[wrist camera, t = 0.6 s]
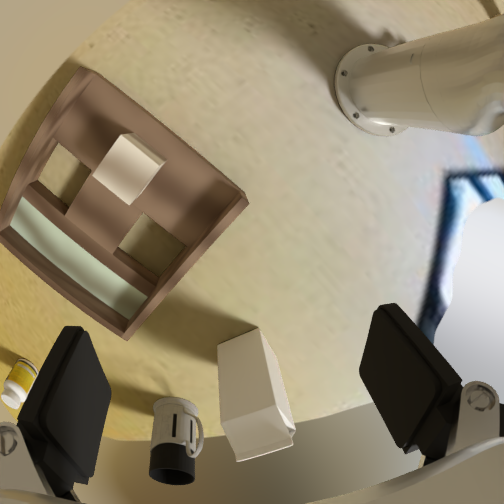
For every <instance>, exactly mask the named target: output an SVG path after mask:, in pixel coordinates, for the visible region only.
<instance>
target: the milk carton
mask: <svg viewBox="0 0 504 504" xmlns="http://www.w3.org/2000/svg"><path fill="white" fill-rule="evenodd" d="M217 355H218V380H219V401H220V419H221V426H222V428H223V430H224V432H225V434H226V436H227V438H228V440H229V442H230V444H231V446H232V448H233V450H234V452H235V454H236V461H237V462H239V461H243V460H247V459H250V458H254V457H258V456H261V455H264V454H268V453H271V452H274V451H277V450H280V449H283V448H287V447H289V446H292V445H293V441H292V436H293V435H294V433H295V431H296V429H295V425H294V422H293V418H292V414H291V410H290V406H289V403H288V399H287V395H286V391H285V387H284V384H283V380H282V376H281V372H280V368H279V364H278V361H277V357H276V355H275V354H274V352H273V350H272V349H271V347H270V345H269V344H268V342H267V340H266V339H265V337H264V335H263V334H262V332H261V330H260V329H259V328H257V329H254V330H252V331H250V332H247V333H245V334H243V335H240V336H238V337H235V338H233V339H231V340H228V341H226V342H223V343H221V344H218V345H217Z"/></svg>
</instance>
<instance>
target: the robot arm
mask: <svg viewBox="0 0 504 504" xmlns="http://www.w3.org/2000/svg"><path fill="white" fill-rule="evenodd" d="M368 49H369V50H368ZM341 72H342V73H343V76H342V74H341ZM335 91H336V96H337V99H338V102H339V105H340V107H341V108H342V110H343V112H344V114H345V115H346V116H347V117H348V119H349V120H350V121H351V122H352V123H353V124H354V125H355V126H357V127H358V128H359V129H361V130H363V131H364V132H367V133H369V134H372V135H377V136H394V135H397V134H399V133H402V132H403V131H405V130H406V129H407V128H408V127H414V128H423V129H431V130H438V131H445V132H452V133H458V134H464V135H470V136H483V135H487V134H490V133H493V132H494V131H496V130H497V129H499V128H500V127H501V126H503V125H504V14H502V15H499V16H497V17H494V18H491V19H488V20H485V21H482V22H480V23H477V24H473V25H469V26H466V27H462V28H458V29H455V30H451V31H447V32H443V33H439V34H435V35H432V36H428V37H424V38H421V39H417V40H414V41H410V42H407V43H404V44H400V45H397V46H394V47H391V48H389V47H387V46H383V45H380V44H364V45H361V46H358V47H355V48H354V49H352V50H350V51H349V52H348V53H346V54H345V55H344V56H343V58H342V59H341V61H340V62H339V64H338V67H337V69H336V74H335ZM353 114H354V115H355V117H353ZM389 129H390V131H389ZM359 374H360V377H361V379H362V381H363V383H364V384H365V386H366V388H367V390H368V392H369V394H370V396H371V397H372V399H373V401H374V403H375V405H376V407H377V409H378V411H379V413H380V414H381V416H382V418H383V420H384V422H385V424H386V426H387V428H388V430H389V432H390V434H391V435H392V437H393V439H394V441H395V443H396V445H397V446H398V447H399V448H402V449H403V451H404V453H405V454H408V453H410V452H413V451H415V450H418V449H419V450H420V451H421V453H422V455H421V459H420V462H419V465H418V469H417V470H414V471H412V472H409V473H406V474H404V475H401V476H399V477H396V478H394V479H391V480H388V481H385V482H383V483H380V484H377V485H374V486H371V487H368V488H365V489H361V490H358V491H355V492H351V493H348V494H344V495H340V496H336V497H333V498H328V499H325V500H320V501H315V502H311V503H306V504H504V404H501V403H499V397H498V395H497V393H496V391H495V390H494V389H493V388H492V387H491V386H490V385H488V384H486V383H484V382H480V381H473V382H469V383H468V384H466V385H465V386H464V387H462V385H461V382H462V379H461V378H460V377H459V375H458V374H457V373H456V372H455V370H454V369H453V368H452V367H451V365H450V364H449V363H448V362H447V361H446V359H445V358H444V357H443V356H442V355H441V354H440V352H439V351H438V350H437V349H436V348H435V346H434V345H433V344H432V343H431V342H430V341H429V339H428V338H427V337H426V336H425V335H424V334H423V332H422V331H421V330H420V329H419V328H418V327H417V326H416V325H415V323H414V322H413V321H412V320H411V319H410V318H409V317H408V316H407V314H406V313H405V312H404V311H403V310H402V309H401V308H400V307H399V306H398V305H397V304H396V303H390V304H384V305H380V306H379V307H378V308H377V310H375V311H374V313H373V316H372V321H371V325H370V329H369V333H368V337H367V341H366V345H365V349H364V353H363V356H362V360H361V364H360V367H359ZM110 400H111V388H110V385H109V383H108V381H107V379H106V376H105V374H104V372H103V369H102V367H101V364H100V362H99V360H98V357H97V354H96V352H95V349H94V347H93V344H92V341H91V339H90V336H89V334H88V332H87V331H84V329H83V328H82V327H81V326H65V327H64V328H63V329H62V331H61V333H60V335H59V336H58V338H57V340H56V342H55V343H54V345H53V347H52V349H51V351H50V353H49V354H48V356H47V358H46V360H45V362H44V364H43V366H42V368H41V369H40V371H39V373H38V375H37V377H36V379H35V381H34V383H33V385H32V387H31V389H30V391H29V394H28V396H27V398H26V400H25V402H24V404H23V406H22V409H21V411H20V413H19V415H18V418H17V419H18V423H17V425H15V424H13V423H11V422H1V423H0V504H85V503H81V502H80V500H79V499H78V497H77V495H76V494H75V492H74V490H73V485H74V482H76V483H81V484H86V485H87V484H88V480H89V477H92V476H93V475H94V470H95V465H96V460H97V455H98V450H99V445H100V441H101V437H102V432H103V428H104V424H105V419H106V415H107V411H108V407H109V403H110Z"/></svg>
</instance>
